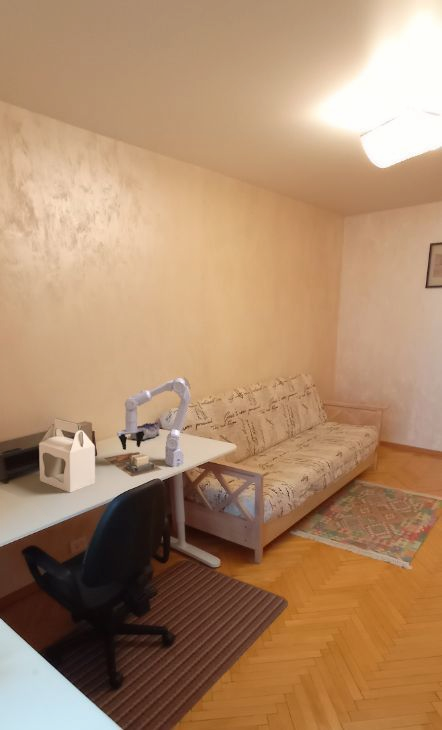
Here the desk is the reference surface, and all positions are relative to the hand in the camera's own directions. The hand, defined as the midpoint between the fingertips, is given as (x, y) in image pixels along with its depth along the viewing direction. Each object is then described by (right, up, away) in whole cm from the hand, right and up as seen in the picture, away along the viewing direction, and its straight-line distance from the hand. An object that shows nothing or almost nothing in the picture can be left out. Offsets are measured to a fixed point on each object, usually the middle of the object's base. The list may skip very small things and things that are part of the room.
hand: (131, 447), depth 209 cm
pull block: (+2, -8, -2) cm, 9 cm away
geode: (-2, -4, +51) cm, 51 cm away
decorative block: (-27, -8, +4) cm, 28 cm away
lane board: (0, -9, +1) cm, 9 cm away
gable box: (-24, -11, -22) cm, 34 cm away
